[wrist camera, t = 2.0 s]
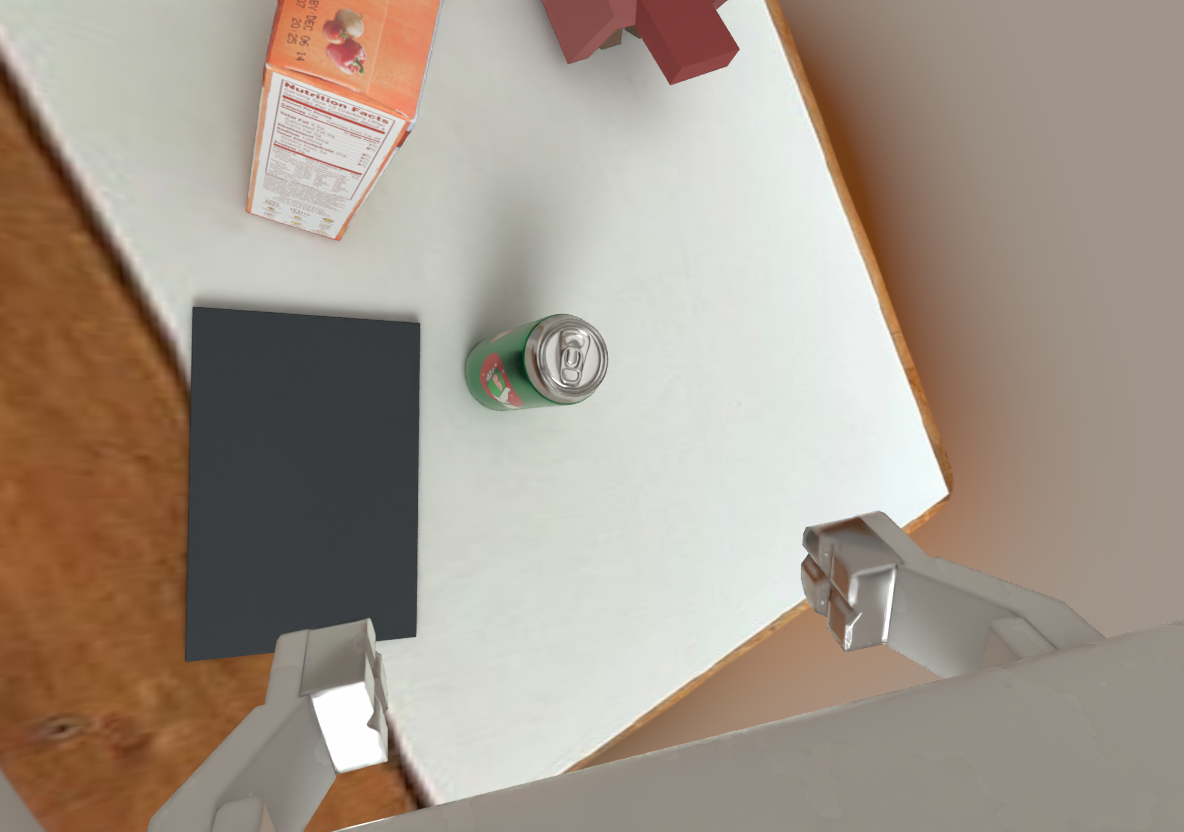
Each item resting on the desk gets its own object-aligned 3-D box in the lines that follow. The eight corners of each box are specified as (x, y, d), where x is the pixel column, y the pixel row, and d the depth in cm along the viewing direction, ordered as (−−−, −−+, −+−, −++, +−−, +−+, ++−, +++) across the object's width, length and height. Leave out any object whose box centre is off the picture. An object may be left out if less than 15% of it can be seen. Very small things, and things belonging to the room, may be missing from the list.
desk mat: (192, 308, 45) (192, 306, 44) (418, 324, 50) (420, 322, 50) (185, 659, 44) (185, 662, 44) (414, 634, 50) (416, 637, 49)
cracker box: (290, -4, 47) (346, -291, 29) (388, 38, 50) (498, -200, 31) (235, 214, 46) (257, 59, 27) (339, 245, 48) (425, 125, 30)
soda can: (536, 344, 54) (619, 320, 43) (527, 416, 54) (609, 410, 43) (467, 330, 52) (536, 302, 41) (457, 405, 51) (524, 396, 41)
